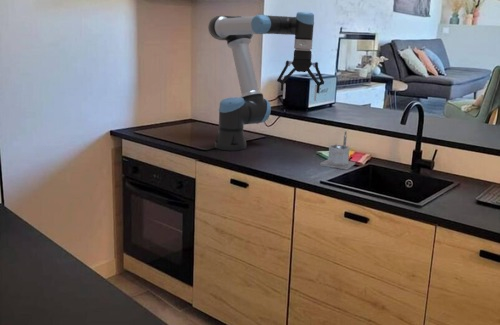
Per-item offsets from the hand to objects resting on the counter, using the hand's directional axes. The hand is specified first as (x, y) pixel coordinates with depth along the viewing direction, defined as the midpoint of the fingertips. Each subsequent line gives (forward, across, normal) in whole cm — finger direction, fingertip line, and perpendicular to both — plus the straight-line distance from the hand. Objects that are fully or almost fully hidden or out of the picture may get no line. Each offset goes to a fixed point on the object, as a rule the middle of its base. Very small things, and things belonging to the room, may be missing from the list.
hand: (299, 99), depth 228 cm
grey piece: (+25, +19, -9) cm, 33 cm away
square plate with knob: (+26, +19, -7) cm, 33 cm away
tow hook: (+26, +22, +7) cm, 35 cm away
